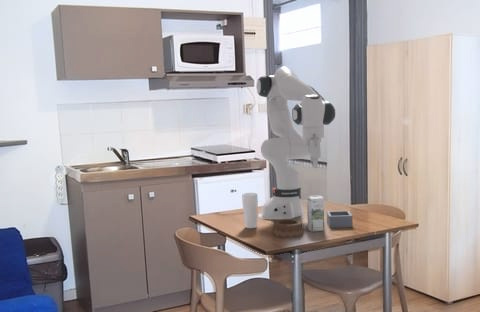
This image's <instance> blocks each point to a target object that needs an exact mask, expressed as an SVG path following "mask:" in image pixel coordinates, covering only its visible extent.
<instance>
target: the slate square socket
mask: <svg viewBox="0 0 480 312" xmlns="http://www.w3.org/2000/svg"><path fill="white" fill-rule="evenodd" d="M326 223H327V224H328V227H329V228H332V229H334V228H335V229H336V228H337V229H338V228H353V227H354V226H353V225H354V224H353V223H354V222H353V215H352V212H350V210H331V211H329V210H328V211H326Z"/></svg>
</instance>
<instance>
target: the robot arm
mask: <svg viewBox="0 0 480 312" xmlns="http://www.w3.org/2000/svg"><path fill="white" fill-rule="evenodd" d="M256 92H257V94H258V95H259V97H263V98H267V97H268V99H267V103H266V111H267V116H268V123H269V126H270V130H271V132H272V133H273V135H275V136H277V137H272V138H271V137H270V138H268V139H264V141H263V142H262V143H261V146H260V153H261V155H262V157H263V159H265V160H266V161H267V162H269V163H270V164H271V165H272V167H273V169H274V171H275V175H276V176H275V177H276V187H272V188H271V191H272V194H273V195H272V197H270V198H269V199H268V200H267V201H265V202H264V204H263V206H262V210H261V212H259V213H257V218H258V219H261V220H281V219H295V218H297V217H301V216H305V213H304V211H303V206H302V188H301V186H300V185H301V184H300V183H301V181H300V178H301V177H300V171H298V169H297V168H295V167H294V166H290V165H289V164H288V161H289V160H301V159H305V158H309V157H310V165H311V166H312V168H313V169H318V167H319V166H318V165H319V159H320V158H321V154H322V153H321V142H322V139H324V138H325V125H327V126H329V125H330V124H331V123H332V122H333V121H334V120H335V118H336V109H335V107H334V105H333V104H332V103H331V102H330V101H328V100H326V99H325V98H324V97H323V96H322V95H321V94H320V93H319V92H318V91H317V90H316V89H315V88H314V87H312V86H310V85H309V84H307V83H305V82H304V81H303V80H301V79H300V78H299V77H298V75H297V74H296V73H295V72H294V71H293V70H292V69H291V68H290V67H288V66H281V67H279V68H277V69H276V71H275V72H274V75H263V76H260V77H259V78H258V79H257V82H256ZM288 100H289V101H297V102H299V103H296V104H295V105H294V107H293V108H292V110H291V111H292V113H291V112H290V109H289V106H288ZM291 115H292V116H291ZM293 122H294V123H295V124H296V125H298V126H302V133H301V132H300V131H299V130H298V129H297V128H296V126H295V125H294V123H293Z"/></svg>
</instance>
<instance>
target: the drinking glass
mask: <svg viewBox="0 0 480 312" xmlns="http://www.w3.org/2000/svg"><path fill="white" fill-rule="evenodd" d="M241 198H242V201H241V202H242V210H243V218H244V219H243V220H244V227H245V228H246V229H256V228H257V227H258V208H259V207H258V203H259V202H258V201H259V199H258V193H256V192H245V193H242V197H241Z"/></svg>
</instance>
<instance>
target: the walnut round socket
mask: <svg viewBox="0 0 480 312" xmlns="http://www.w3.org/2000/svg"><path fill="white" fill-rule="evenodd" d="M303 228H304V226H303V221H302V220H301V219H297V218H292V219H281V220H279V219H276V220H275V221H273V232H274V233H273V235H274V236H275V237H277V238H283V239H293V238H298V237H301V236H303V235H304V229H303Z"/></svg>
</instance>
